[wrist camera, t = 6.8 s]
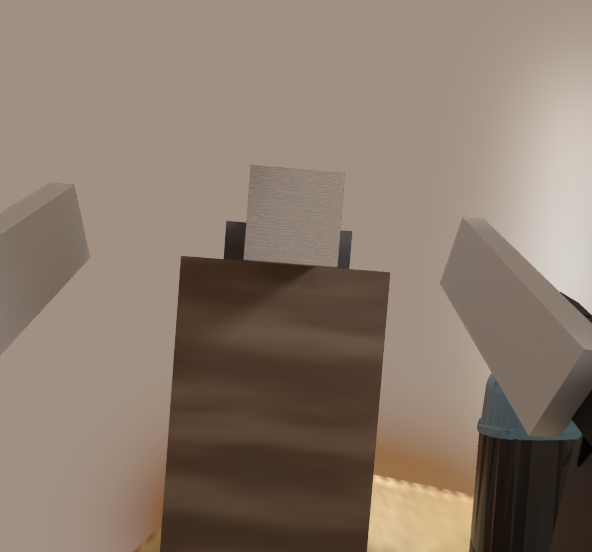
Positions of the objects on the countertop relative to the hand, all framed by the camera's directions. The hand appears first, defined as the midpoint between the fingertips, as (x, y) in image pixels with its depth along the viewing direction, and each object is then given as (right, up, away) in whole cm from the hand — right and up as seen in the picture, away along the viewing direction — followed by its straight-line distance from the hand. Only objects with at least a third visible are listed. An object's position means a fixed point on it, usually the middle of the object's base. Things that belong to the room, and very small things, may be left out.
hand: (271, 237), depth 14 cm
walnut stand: (-2, -28, +15) cm, 32 cm away
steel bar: (0, -1, +9) cm, 9 cm away
